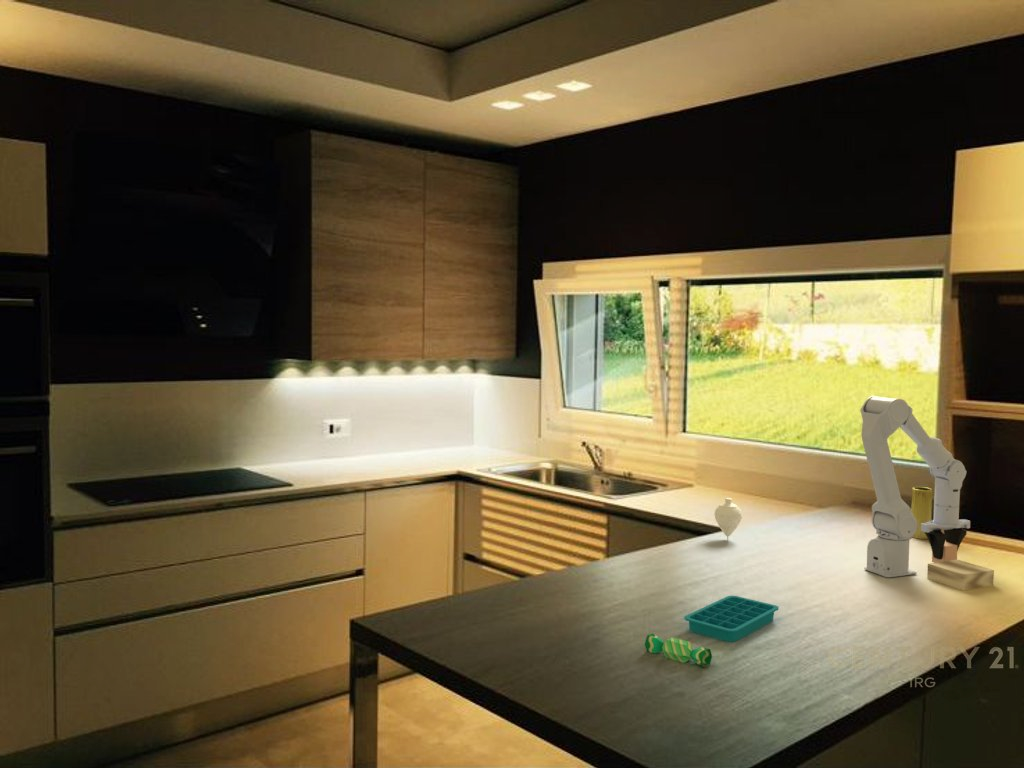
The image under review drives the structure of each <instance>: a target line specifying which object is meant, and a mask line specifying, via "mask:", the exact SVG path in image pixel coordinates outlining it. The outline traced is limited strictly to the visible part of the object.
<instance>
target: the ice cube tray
mask: <svg viewBox="0 0 1024 768" xmlns="http://www.w3.org/2000/svg"><path fill="white" fill-rule="evenodd" d="M778 610H779V606H778V605H777V604H776V605H775V604H771V603H767V602H763V601H760V600H754V599H750V598H747V597H743V596H739V595H727V596H725V597H723V598H721V599H719V600H717V601H714V602H712V603H710V604H708V605H706V606H704V607H702V608H700V609H697V610H695V611H693V612H690V613H689V614H687V615H685V616H684V617H683V618H684V620H685V621H686V622H688V627H689V628H688V629H689V632H691V631H692V633H696V634H699V635H702V636H706V637H710V638H713V639H716V640H720V641H724V642H727V643H733V642H737V641H739V640H740V639H742V638H744V637H746V636H748V635H749V634H751V633H753V632H755V631H757V630H759V629H761V628H763V627H764V626H766V625H768V624H770V623H771V622H773V621H774V616H775V612H776V611H778Z"/></svg>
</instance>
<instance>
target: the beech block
mask: <svg viewBox="0 0 1024 768" xmlns="http://www.w3.org/2000/svg"><path fill="white" fill-rule="evenodd" d="M926 575H927V577H926V578H927V579H928V580H932V581H935V582H937V583H940V584H942V585H943V584H944V585H945V586H948V587H952V588H955V589H959V590H962V591H966V590H972V589H980V588H984V587H990V586H994V579H995V577H994V575H995V570H994V569H991V568H988V567H984V566H980V565H978V564H974V563H970V562H967V561H965V560H961V559H957V560H950V561H943V562H936V563H934V562H931V563H927V573H926Z"/></svg>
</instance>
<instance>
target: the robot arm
mask: <svg viewBox="0 0 1024 768" xmlns="http://www.w3.org/2000/svg"><path fill="white" fill-rule="evenodd" d="M860 414H861V419H862V426H861V432H860V433H861V440H862V444H863V448H864V452H865V456H866V461H867V464H868V468H869V472H870V477H871V481H872V484H873V485H872V486H873V488H874V492H875V497H876V501H875V502H874V503H873V504H872V505H871V511H872V513H871V514H872V515H871V524H872V527H873V528H874V529H875V531H876V532H875V534H876V535H877V536H876V537H875V538H873V539H870V541H868V543H867V549H866V566H864V570H866V571H868V572H871V573H874V574H876V575H879V576H882V577H885V578H895V577H902V576H903V577H904V576H910V575H917V574H918V573H917V572H918V571H915V570H912V569H909V563H910V562H909V560H910V540H912V539H913V537H912V536H913V535H914V534H915V533H916V530H917V520H916V518H915V517H914V516H913V515H912V513H911V506H909V505H908V504H907V503H906V501H904V500H903V499H902V496H901V491H900V488H899V484H898V480H897V475H896V472H895V468H894V463H893V460H892V459H893V458H892V455H891V451H890V447H889V446H890V445H889V442H888V438H889V437H890V436H892V435H893V434H894V433H895V432H896V431H897V430H898V429H901V430H902V431H903V432H904V433H905V434H906V435H907V436H908V437H909V438H910V439H911V440H912V441H913V443H915V444H916V445H917V446H916V452H917V454H918V455H919V456H920V457H921V458H922V459H923V460H924V462H925V463H926V464H927V465H928V467H929V474H930V475H931V477H933V478H934V494H933V495H934V500H933V519H932V521H929V522H926V523H921V531H923V532H925V534H926V536H927V538H928V539H927V540H928V542H929V545H930V547H931V551H932V552H931V554H932V553H933V557H934V558H936V559H942V557H943V549H944V544H945V542H948V543H952V544H955V545H957V552H958V550H959V549H960V545H961V544H962V542H963V540H964V539H965V537H966V536H967V533H968V531H967V530H965V529H970V528H971V520H968V519H965V518H964V519H963V518H962V519H959V517H960V516H959V515H960V514H959V513H960V499H961V498H960V497H961V496H960V495H961V489H962V487H963V482H964V480H965V478H966V475H967V470H966V467H965V465H964V464H963V462H962V461H961V460H958V459H955V458H954V456H953V454H952V452H950V451H948V450H947V448H946V447H945V446H944V445H943V441H942V440H941V439H940V438H937V437H934V436H929V434H928V433H927V431H926V430H925V429H924V427H923V426H922V425H921V424H920V422H919V421H918V419H917V418H916V416H915V414H913V408H912V407H911V406H910V405H909V403H908V402H907V401H906V400H904V399H902V398H890V397H880V396H879V395H878V396H877V395H871V396H869V397H868V398H867V399H866V400H865V401H864V403H863V405H862V406H861V408H860Z"/></svg>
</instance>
